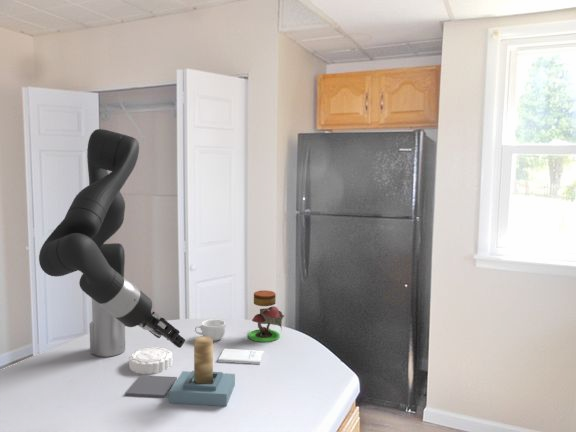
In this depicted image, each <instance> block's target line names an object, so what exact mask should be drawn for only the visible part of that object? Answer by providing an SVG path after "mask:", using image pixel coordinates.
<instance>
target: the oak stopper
mask: <svg viewBox="0 0 576 432" xmlns="http://www.w3.org/2000/svg"><path fill="white" fill-rule="evenodd" d="M193 355H194V356H193V359H194V360H193V371H194V384H212V383H213V372H214V369H213V368H214V341H213V339H212V338H210V337H204V336H199V337H196V338H194V340H193Z"/></svg>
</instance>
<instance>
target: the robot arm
mask: <svg viewBox="0 0 576 432" xmlns="http://www.w3.org/2000/svg"><path fill="white" fill-rule="evenodd" d="M139 152H140V143H139V141H138V140H137V139H136V138H135V137H133V136H129V135H127V134H123V133H119V132H116V131H112V130H107V129H103V128H98V129H95V130H93V132H91V134H90V136H89V138H88V142H87V149H86V159H87V160H86V162H87V172H88V185H87V186H86V187H84V188H83V189H82V190H80V191H79V192H78V193H77V194H76V195H75V197H74V198H73V201H72V202H71V204H70V206H69V208H68V210H67V212H66V215H64V216H65V217H64V218H63V219H62V221H61V222H60V223H59V224H58V225H57V226H56V228H54V230H53V231H52V232H51V234H49V235H48V237H47V238H46V240H45V241H44V242H43V244H42V246H41V248H40V251H39V255H38V263H39V267H40V268H41V270H42V271H43V272H44V273H45V274H46V275H48V276H51V277H63V276H66V275H69V274H71V273H74V272H75V273H76V272H77V271H79V272H81V274H82V275H81V276H80V279H79V283H78V284H79V288H80V289H81V291H83V292H84V293H85V294H86V295H87V296H89V297H90V298H91V316H92V318H91V319H92V321H91V322H90V323H89V353H90V355H94V356H97V357H100V358H101V357H103V358H104V357H105V358H108V357H113V356H118V355H120V354H123V353H124V352H126V327H127V328H134V327H137V326H138V328H139V327H140V328H141V329H142V330H144V331H148V332H149V333H150V334H152V335H153V336H155V337H156V338H158V339H160V338H161V337H163V338H165V340H166V341H169V342H170V343H172V344H173V345H174V346H175V347H177V348H179V349H181V348H182V346H184V343H185V341H186V339H185V338H184V337H183V336H181V334H180V333H181V332H180V330H179V329H177V328H176V327H175V326H173V325H172V324H171V323H169V322H168V320H166V318H164V317H160V315H159V313H157V312H155V311H152V308H153V301H152V299H151V298H150V297H149V296H147V294H145V293H144V292H143V291H142V290H141V289H140V288H138V287H137V286H136V284H134V283H133V282H132V281H130V280H128V279H127V278H125V262H126V259H125V257H126V255H125V249H124V246H123V244H122V243H119V242H118V243H117V242H115V243H113V242H112V243H106V242H107V241H108V240H110V238H112V237H113V236H114V235H115V234H116V233H117V232H118V231H119V230H120V228H121V227H122V225H123V224H124V221H125V210H126V201H125V198H124V196H123V195H122V193H121V190H122V188H123V186H124V185H125V184H126V181H127V180H128V179H129V177H130V176H131V173H132V172H133V171H134V168H135V167H136V164H137V162H138V157H139ZM108 172H110V173H108Z"/></svg>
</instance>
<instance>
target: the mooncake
mask: <svg viewBox="0 0 576 432" xmlns="http://www.w3.org/2000/svg"><path fill="white" fill-rule="evenodd" d="M173 356H174V354H173V352H172V351H170V349H167V348H163V347H156V346H154V347H147V348H141V349H139V350H136V351H135V352H134V353H131V354H130V355H129V357H128V363H129V365H128V366H129V370H131V372H133V373H135V374H140V375H151V374H158V373H162V371H163V372H165V371H167V370H169V368H171V367H172V366H173V363H174V360H173V358H174V357H173Z"/></svg>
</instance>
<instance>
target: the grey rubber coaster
mask: <svg viewBox="0 0 576 432" xmlns="http://www.w3.org/2000/svg"><path fill="white" fill-rule="evenodd" d="M177 379H178V377H177V376H168V375H167V376H166V375H165V376H162V375H148V374H140V375H139V377H137V379H136V380H135V381H134V382H133V383H132V384H131V386H130V387H129V388H128V390H126V392H125V393H124V394H125V396H130V397H150V398H166V396H167V395H168V394H169V391H170V389H171V388H172V386H173V385H174V383H175V382H176V380H177Z"/></svg>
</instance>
